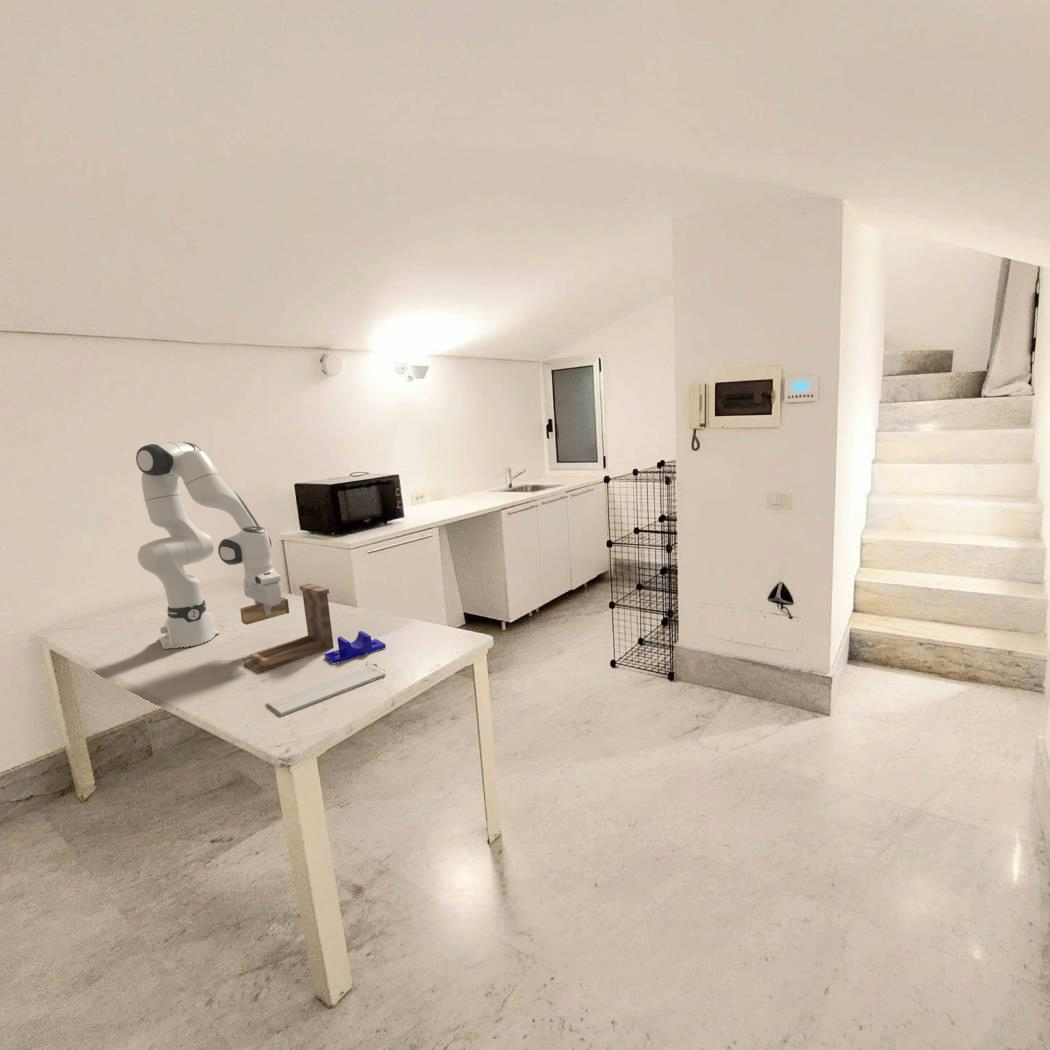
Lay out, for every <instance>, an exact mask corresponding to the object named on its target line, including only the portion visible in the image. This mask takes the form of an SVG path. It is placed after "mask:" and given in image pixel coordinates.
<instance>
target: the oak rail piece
mask: <svg viewBox="0 0 1050 1050" xmlns="http://www.w3.org/2000/svg"><path fill="white" fill-rule="evenodd" d="M289 607H290V606H289V600H288V598H285V597H283V596H281V603H280V604H279V605H276V606H271V614H270V615H268V616H266V615H264V611H263V610H264V609H265V606H264V604H263V603H259V604H255V603H254V604H253V605H248V606H244V607H241V608H239V611H240V616H241V623H242V624H244V625H251V624H254V623H258V622H261V621H265V620H268V619H272V618H276V617H279V616H283V615H287V614H290V608H289Z"/></svg>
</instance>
